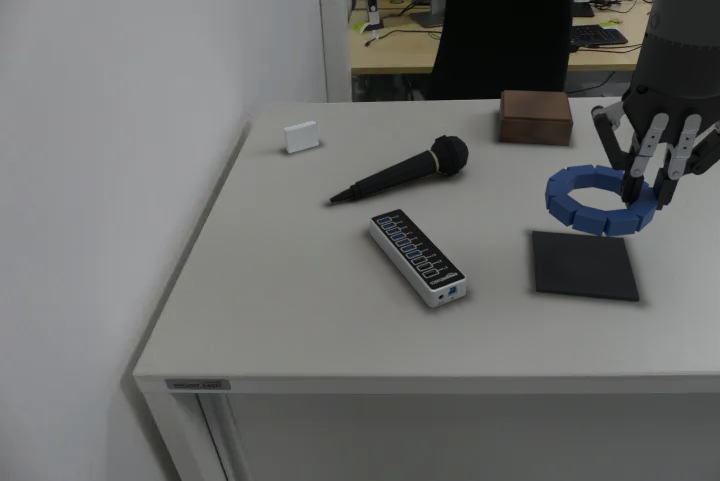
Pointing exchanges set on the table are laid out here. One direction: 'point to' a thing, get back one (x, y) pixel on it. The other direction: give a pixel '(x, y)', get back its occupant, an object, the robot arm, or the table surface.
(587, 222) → the ring
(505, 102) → the platform
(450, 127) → the table surface
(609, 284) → the mat
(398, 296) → the table surface
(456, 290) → the multiport hub
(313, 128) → the eraser
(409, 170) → the microphone
